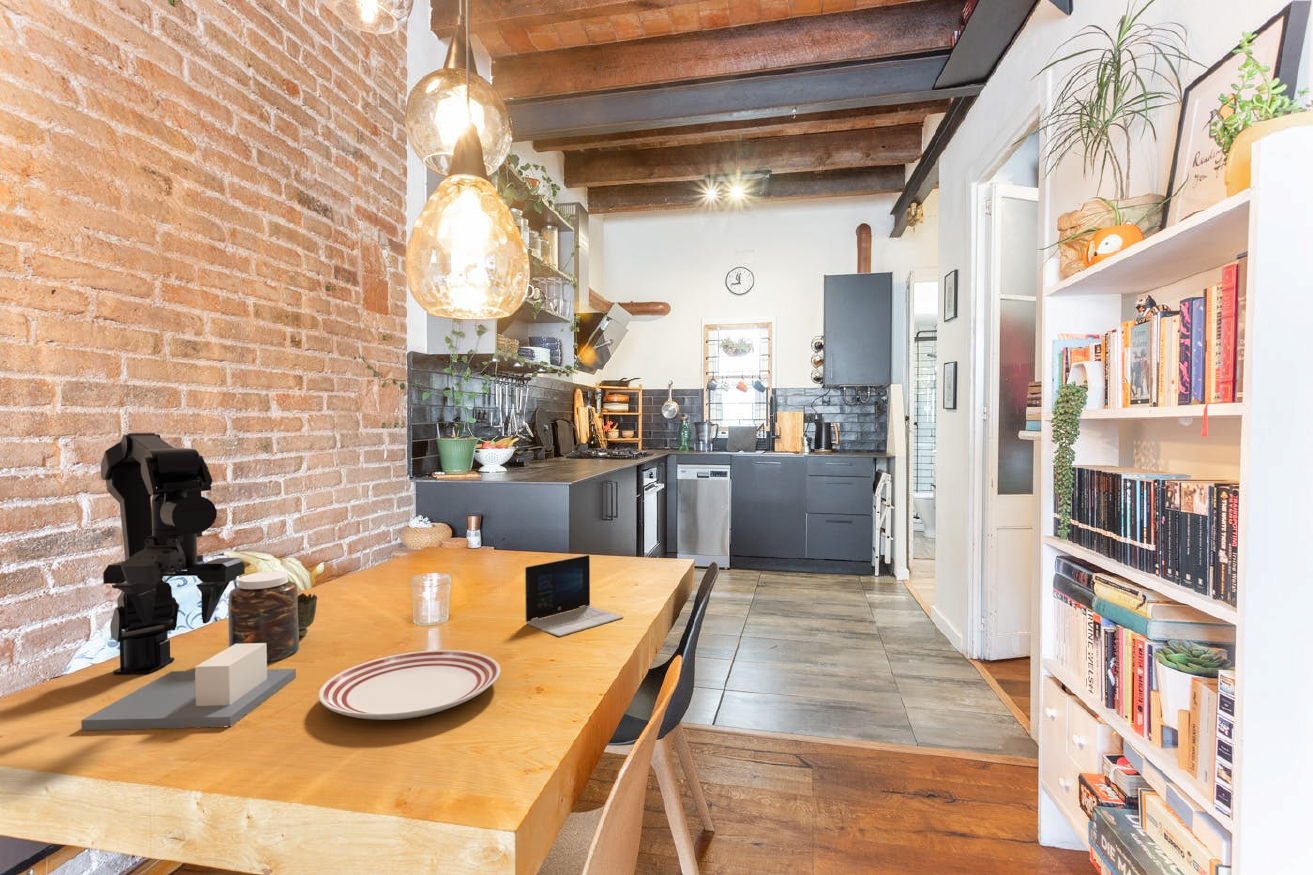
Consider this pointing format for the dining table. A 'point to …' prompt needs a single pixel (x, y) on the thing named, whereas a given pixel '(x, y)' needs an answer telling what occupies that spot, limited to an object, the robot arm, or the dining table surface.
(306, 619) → the cup
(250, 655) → the housing
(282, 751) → the dining table surface
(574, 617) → the laptop
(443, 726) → the dining table surface
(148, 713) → the board
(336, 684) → the dinner plate
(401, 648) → the dining table surface
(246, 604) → the jar
